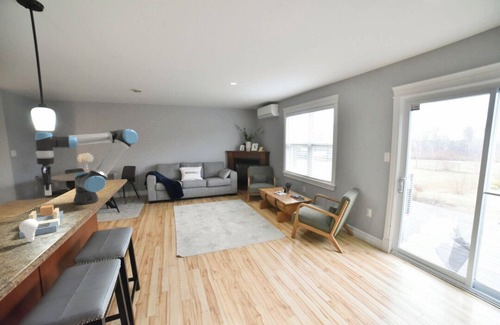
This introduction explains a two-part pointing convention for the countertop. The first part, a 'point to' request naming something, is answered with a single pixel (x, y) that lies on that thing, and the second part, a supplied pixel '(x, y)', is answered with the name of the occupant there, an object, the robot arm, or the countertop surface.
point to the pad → (47, 222)
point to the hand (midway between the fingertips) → (48, 195)
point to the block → (46, 210)
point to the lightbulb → (29, 229)
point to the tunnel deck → (37, 217)
